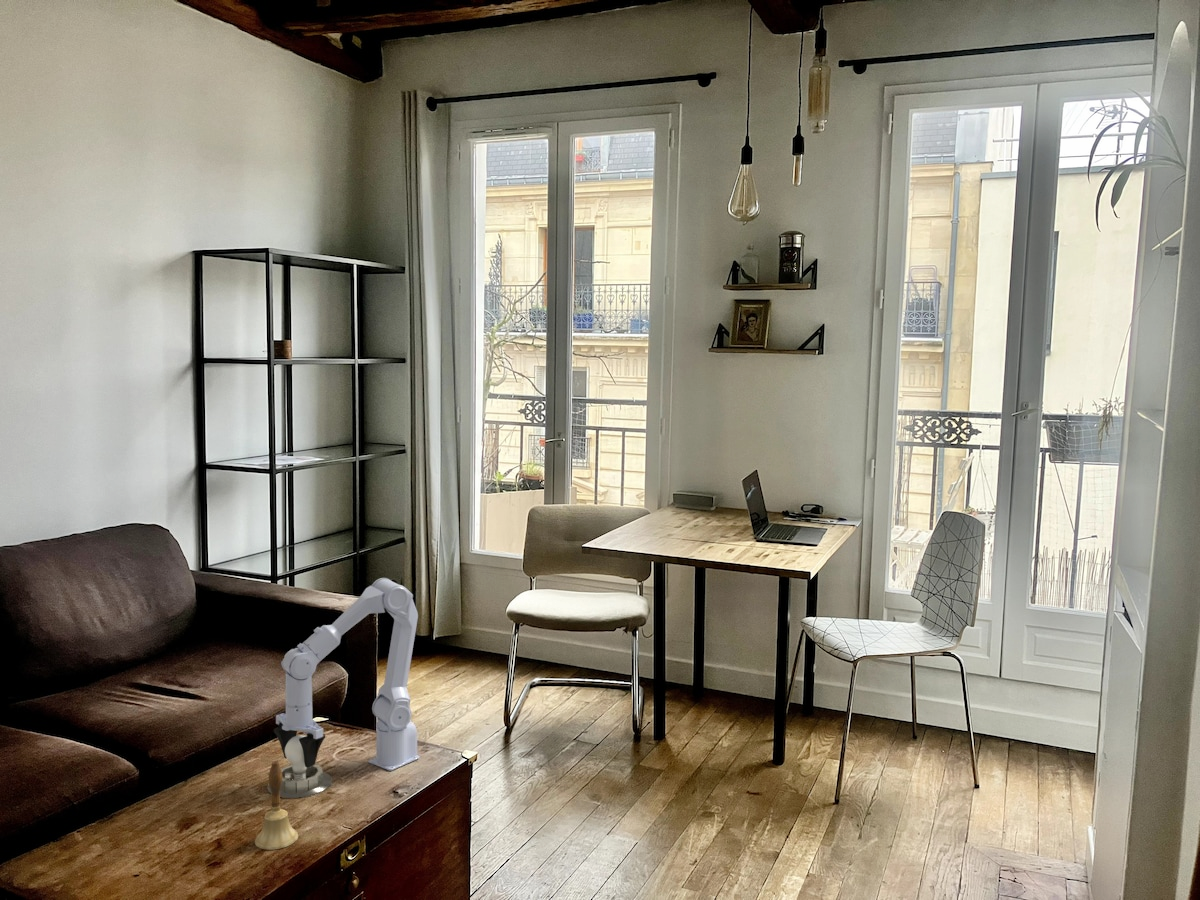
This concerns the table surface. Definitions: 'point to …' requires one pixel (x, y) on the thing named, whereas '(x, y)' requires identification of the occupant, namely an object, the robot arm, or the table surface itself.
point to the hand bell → (276, 817)
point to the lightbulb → (296, 757)
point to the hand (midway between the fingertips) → (299, 761)
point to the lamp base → (322, 787)
